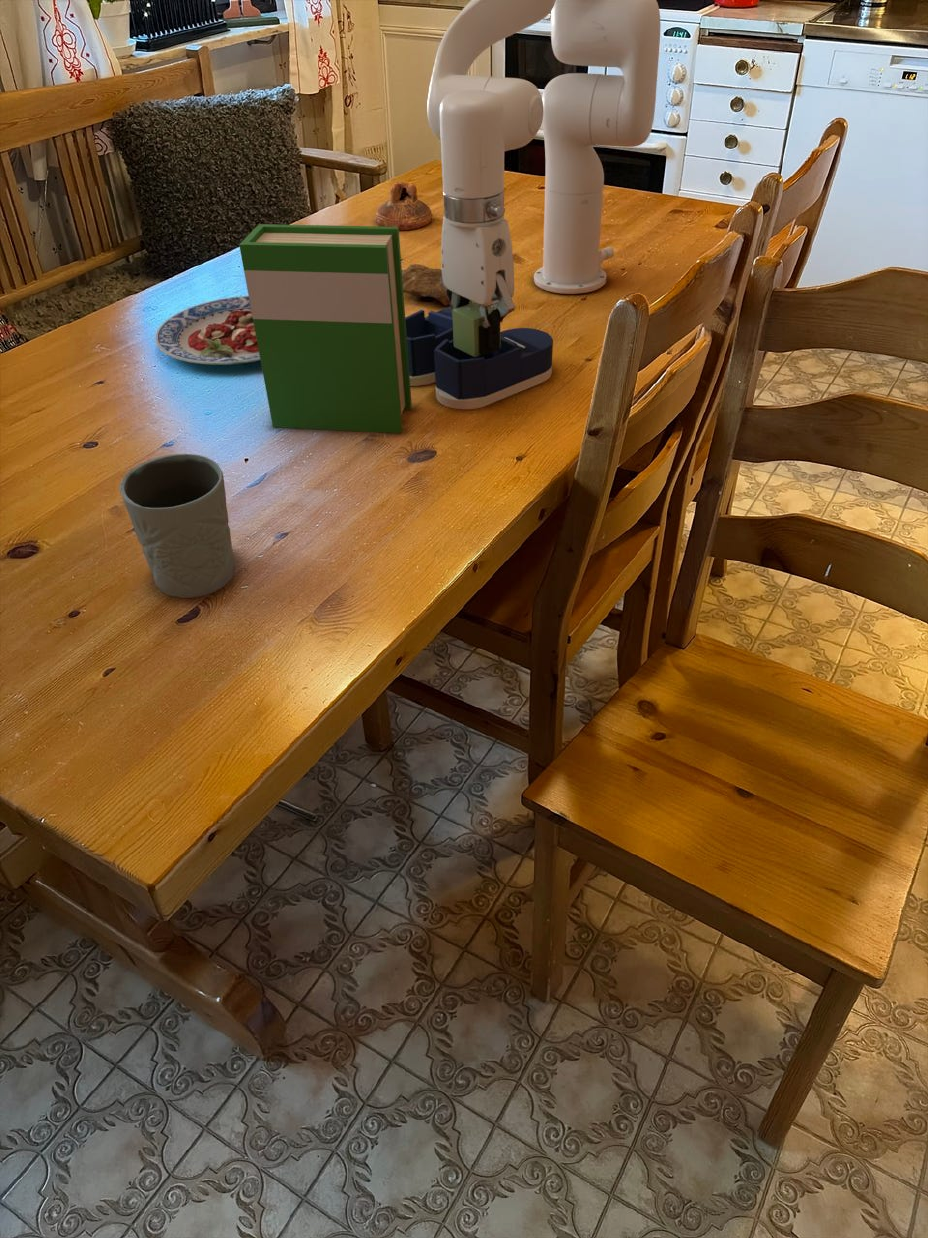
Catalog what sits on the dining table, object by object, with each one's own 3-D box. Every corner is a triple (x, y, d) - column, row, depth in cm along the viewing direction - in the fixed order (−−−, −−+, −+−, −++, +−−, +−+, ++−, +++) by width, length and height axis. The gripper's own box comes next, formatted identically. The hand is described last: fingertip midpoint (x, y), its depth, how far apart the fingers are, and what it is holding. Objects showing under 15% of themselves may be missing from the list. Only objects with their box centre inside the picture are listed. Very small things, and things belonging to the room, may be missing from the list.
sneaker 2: (524, 354, 138) (525, 310, 133) (564, 373, 133) (566, 327, 128) (423, 393, 129) (420, 347, 125) (461, 415, 124) (460, 368, 119)
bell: (438, 213, 191) (437, 176, 186) (423, 232, 182) (421, 193, 177) (385, 211, 193) (382, 174, 188) (368, 229, 184) (364, 191, 179)
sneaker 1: (459, 332, 145) (457, 289, 140) (501, 346, 140) (501, 301, 136) (374, 375, 134) (370, 329, 130) (418, 391, 130) (414, 345, 125)
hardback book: (411, 406, 126) (398, 226, 111) (401, 433, 121) (385, 247, 105) (288, 401, 129) (259, 223, 113) (272, 427, 123) (239, 244, 107)
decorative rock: (378, 303, 156) (460, 316, 152) (376, 279, 153) (459, 292, 149) (405, 276, 163) (483, 288, 159) (403, 253, 160) (483, 265, 156)
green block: (479, 336, 128) (478, 300, 124) (500, 347, 125) (500, 310, 122) (453, 346, 126) (452, 309, 122) (474, 357, 123) (473, 319, 119)
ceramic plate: (242, 297, 159) (239, 279, 157) (355, 328, 147) (353, 310, 145) (123, 351, 143) (118, 333, 141) (239, 391, 131) (235, 372, 129)
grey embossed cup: (180, 540, 104) (153, 447, 96) (261, 554, 101) (240, 459, 93) (131, 595, 96) (98, 499, 88) (216, 611, 94) (190, 513, 86)
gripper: (542, 214, 110) (539, 357, 122) (455, 185, 120) (460, 319, 132) (494, 229, 106) (495, 374, 118) (409, 197, 117) (418, 334, 129)
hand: (477, 344), depth 125 cm, fingers closed on green block, 4 cm apart
